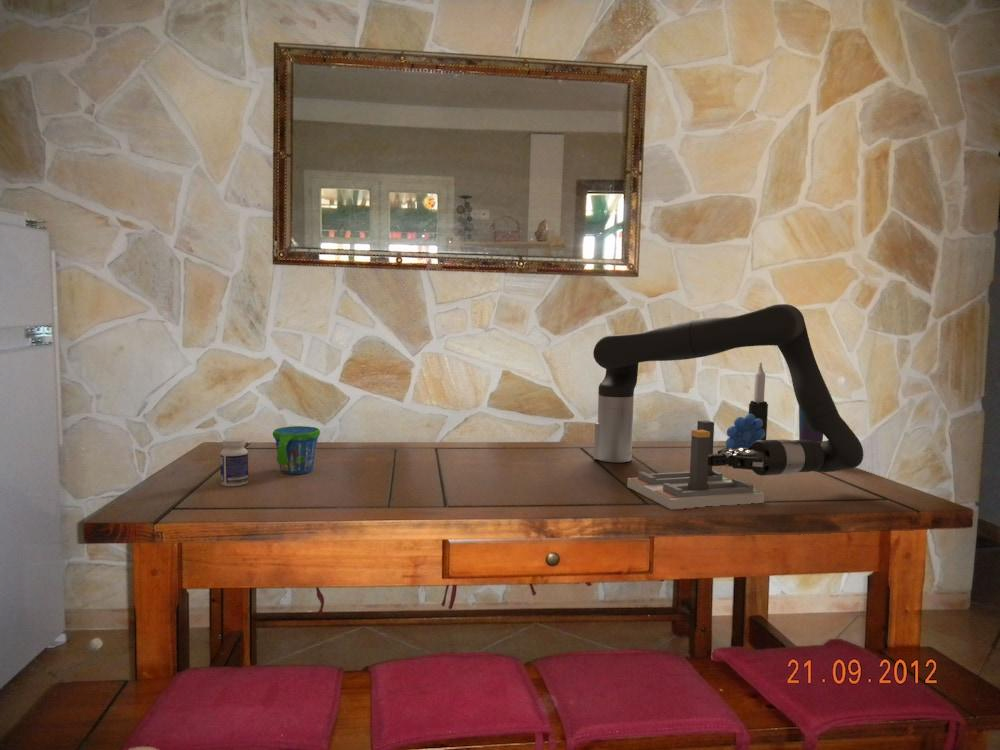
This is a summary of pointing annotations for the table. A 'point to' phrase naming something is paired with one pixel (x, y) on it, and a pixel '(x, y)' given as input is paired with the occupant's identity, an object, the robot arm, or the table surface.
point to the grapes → (744, 432)
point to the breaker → (699, 460)
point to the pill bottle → (234, 462)
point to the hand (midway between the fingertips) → (707, 460)
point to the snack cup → (296, 448)
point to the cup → (807, 430)
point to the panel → (677, 496)
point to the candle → (759, 399)
